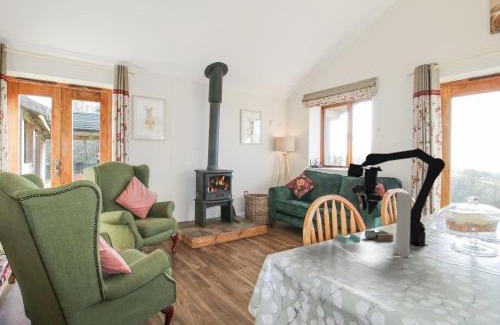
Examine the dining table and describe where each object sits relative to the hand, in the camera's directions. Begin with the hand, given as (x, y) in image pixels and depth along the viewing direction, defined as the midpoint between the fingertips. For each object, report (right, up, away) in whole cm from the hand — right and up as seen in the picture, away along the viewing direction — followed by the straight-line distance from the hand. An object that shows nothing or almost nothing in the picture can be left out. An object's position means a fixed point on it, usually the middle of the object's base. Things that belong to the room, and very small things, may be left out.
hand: (366, 212), depth 136 cm
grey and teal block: (+2, -12, -5) cm, 13 cm away
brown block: (+4, -12, -4) cm, 14 cm away
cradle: (-11, -12, -6) cm, 17 cm away
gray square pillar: (+4, -13, -23) cm, 27 cm away
